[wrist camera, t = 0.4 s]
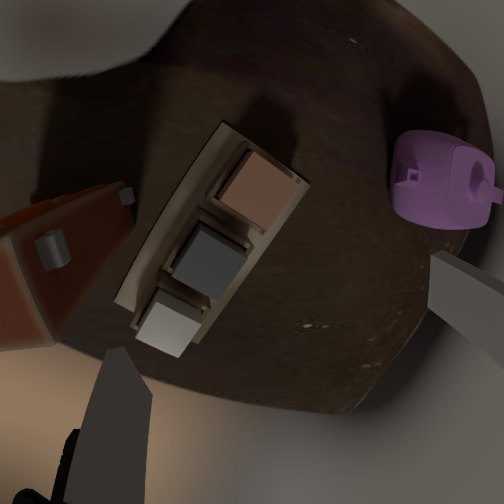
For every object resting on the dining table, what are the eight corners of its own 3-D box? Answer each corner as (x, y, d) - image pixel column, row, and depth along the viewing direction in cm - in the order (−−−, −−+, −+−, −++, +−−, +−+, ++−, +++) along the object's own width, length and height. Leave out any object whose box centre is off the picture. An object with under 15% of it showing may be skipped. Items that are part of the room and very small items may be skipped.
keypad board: (114, 300, 32) (106, 319, 28) (222, 122, 28) (226, 117, 24) (197, 342, 36) (199, 364, 32) (309, 185, 32) (325, 190, 28)
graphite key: (173, 260, 29) (171, 276, 25) (199, 219, 28) (200, 230, 24) (214, 283, 31) (218, 301, 27) (241, 245, 30) (248, 258, 26)
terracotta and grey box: (25, 207, 26) (133, 170, 28) (42, 261, 29) (148, 232, 30) (-102, 277, 6) (24, 208, 8) (-60, 367, 9) (87, 360, 11)
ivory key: (140, 317, 30) (135, 337, 27) (160, 283, 29) (156, 301, 26) (179, 336, 32) (178, 358, 28) (200, 304, 31) (201, 324, 27)
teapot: (458, 146, 34) (521, 155, 23) (449, 221, 38) (508, 246, 27) (358, 116, 30) (431, 108, 19) (350, 214, 34) (416, 246, 23)
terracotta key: (216, 194, 28) (219, 200, 24) (245, 151, 27) (253, 151, 23) (257, 221, 29) (267, 231, 26) (286, 180, 28) (299, 185, 25)
